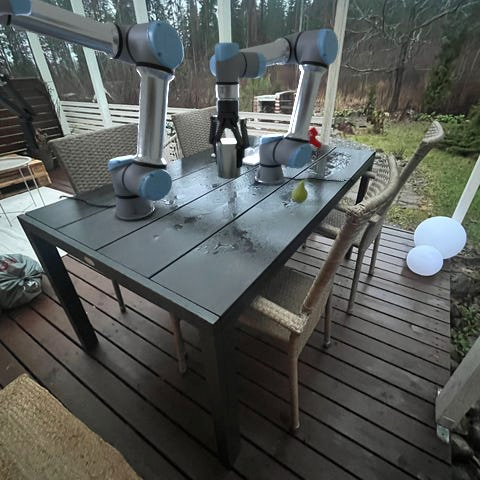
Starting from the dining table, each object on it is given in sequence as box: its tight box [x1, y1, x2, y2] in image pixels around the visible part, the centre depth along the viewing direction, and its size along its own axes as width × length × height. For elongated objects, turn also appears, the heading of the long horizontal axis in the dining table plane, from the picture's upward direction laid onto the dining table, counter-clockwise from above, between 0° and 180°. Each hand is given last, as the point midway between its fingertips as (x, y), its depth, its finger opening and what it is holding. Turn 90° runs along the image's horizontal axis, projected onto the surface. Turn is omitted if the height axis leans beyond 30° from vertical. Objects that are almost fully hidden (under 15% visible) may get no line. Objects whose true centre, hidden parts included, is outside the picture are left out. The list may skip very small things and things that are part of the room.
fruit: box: [291, 174, 311, 204], centre depth 118 cm, size 7×8×12 cm
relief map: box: [210, 146, 259, 166], centre depth 182 cm, size 27×35×5 cm
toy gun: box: [307, 126, 323, 149], centre depth 197 cm, size 18×4×15 cm
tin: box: [216, 137, 242, 180], centre depth 102 cm, size 9×9×13 cm
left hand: (7, 155), depth 65 cm, fingers open, 13 cm apart
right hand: (229, 165), depth 104 cm, fingers closed on tin, 9 cm apart
